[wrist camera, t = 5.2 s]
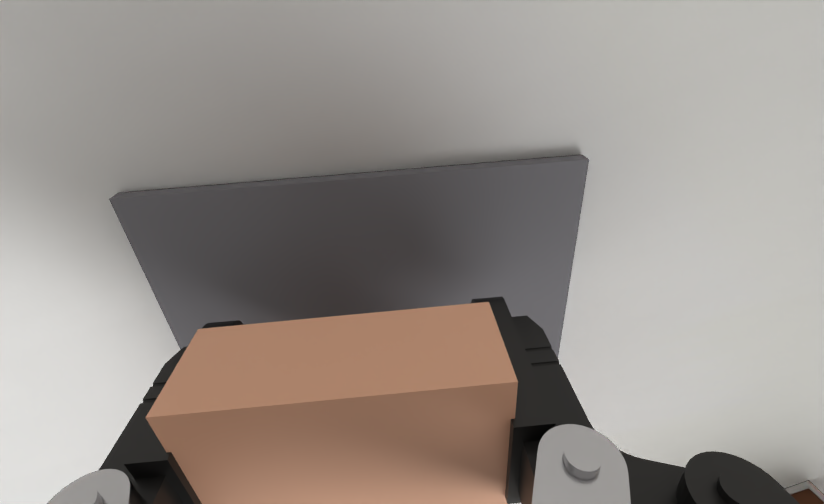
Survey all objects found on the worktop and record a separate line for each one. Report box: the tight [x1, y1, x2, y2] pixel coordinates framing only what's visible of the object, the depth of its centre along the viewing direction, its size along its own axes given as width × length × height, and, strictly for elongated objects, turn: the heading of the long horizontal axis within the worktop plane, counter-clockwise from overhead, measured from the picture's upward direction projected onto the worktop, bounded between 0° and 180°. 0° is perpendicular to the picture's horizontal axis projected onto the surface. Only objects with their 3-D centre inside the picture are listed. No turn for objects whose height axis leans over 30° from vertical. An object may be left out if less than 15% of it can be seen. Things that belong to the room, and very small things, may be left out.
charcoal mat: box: [109, 155, 589, 358], centre depth 14 cm, size 12×13×1 cm
